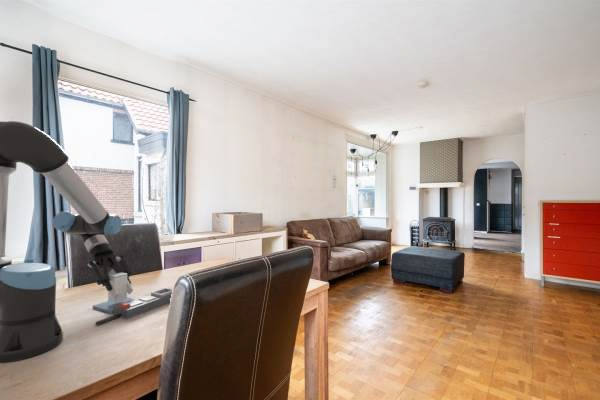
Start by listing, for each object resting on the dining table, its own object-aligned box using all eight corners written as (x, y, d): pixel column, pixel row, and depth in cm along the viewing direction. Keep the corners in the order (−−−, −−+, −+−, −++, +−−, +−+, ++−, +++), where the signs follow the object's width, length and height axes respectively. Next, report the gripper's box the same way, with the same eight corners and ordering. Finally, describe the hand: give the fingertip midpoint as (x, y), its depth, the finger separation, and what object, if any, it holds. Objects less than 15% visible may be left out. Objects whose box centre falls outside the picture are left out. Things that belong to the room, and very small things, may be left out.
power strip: (103, 327, 95) (103, 315, 95) (89, 323, 98) (89, 310, 98) (181, 297, 124) (181, 288, 123) (168, 295, 127) (168, 285, 127)
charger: (114, 302, 111) (114, 276, 111) (108, 300, 112) (108, 275, 112) (127, 298, 115) (127, 273, 115) (120, 296, 117) (121, 272, 117)
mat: (111, 314, 106) (111, 311, 106) (92, 308, 111) (92, 305, 111) (142, 303, 117) (142, 301, 117) (123, 298, 122) (123, 296, 122)
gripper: (116, 250, 128) (140, 293, 121) (70, 258, 112) (95, 307, 105) (124, 239, 126) (149, 282, 119) (78, 245, 110) (103, 295, 103)
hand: (123, 294), depth 112 cm, fingers closed on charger, 5 cm apart
